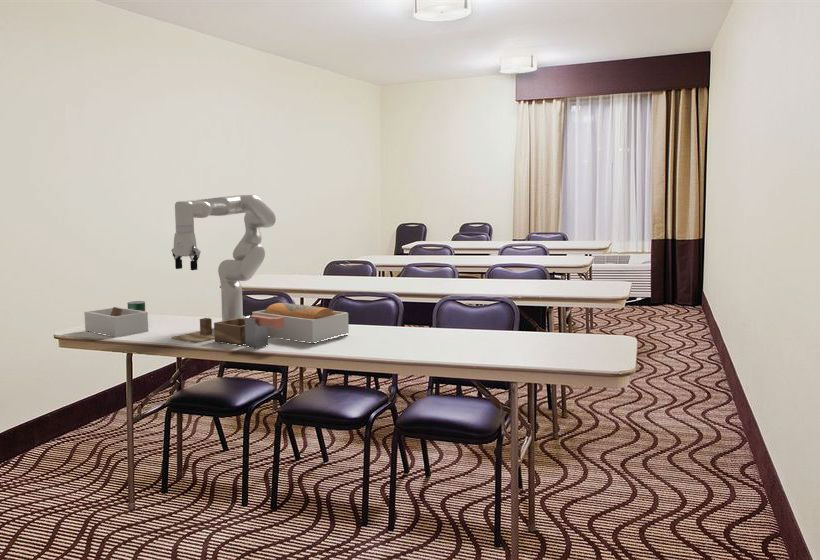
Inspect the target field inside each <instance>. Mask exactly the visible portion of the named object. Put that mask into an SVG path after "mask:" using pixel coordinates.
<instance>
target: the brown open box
mask: <svg viewBox="0 0 820 560" xmlns="http://www.w3.org/2000/svg"><path fill="white" fill-rule="evenodd" d="M213 329H214V330H213V332H214V333H213V334H214V337H215V339H214V342H215V341H216V342H217V343H221V342H223V343H222V344H227V343H229V344H228V345H232V344H237V345H236V346H238V345H243V344H246V343H245V319H243V318H237V319H231V320H226V321H222V320H221V321H217V322H214V323H213ZM216 342H215V343H216ZM243 346H244V345H243Z"/></svg>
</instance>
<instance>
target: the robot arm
mask: <svg viewBox="0 0 820 560" xmlns="http://www.w3.org/2000/svg"><path fill="white" fill-rule="evenodd" d="M237 214H238V215H239V214H244V216H243V221H244V227H245V231H244V232H245V233H244V234H243V237H242V238H240V239H241V240H239V242H238V243H237V244H236V246H235V247H234V249H233V252H232V258H233V259H224V260H223V261H221V262H220V263H219V265H218V270H217V272H218V277H219V281H220V292H221V293H220V297H221V299H220V300H221V301H220V302H221V321H226V320H231V319H237V318H243V319H245V318H246V317H249V316H250V315H247V316H245V315H244V313H243V288H242V284H241V282H247V281H249V280H251V279H252V278H253V277H254V275H255V274H256V272H257V271H258V269H259V268H260V267H261V265H262V263H263V262H264V260H265V258H266V257H265V256H266V251H265V248H264V246H263V245H262V244H261V242H262V236H263V235H262V232H261V229H260V228H265V229H266V228H271V227H273V226H274V225H275V223H276V215H275V212H274V211H273V210H272V209H271V208H270V206H268V205H267V204H266V203H265V202H264V200H263V199H261V198H260V197H259V196H257V195H254V194H238V195H230V196H219V197H218V196H217V197H211V198H204V199H203V198H202V199H201V198H200V199H192V200H184V201H183V200H182V201H181V200H179V201H175V203H174V219H175V233H174V235H173V236H174V237H173V248H171V250H170V251H171V254H172V257H173V259H174V261H175V262H174V264H175V265H174V266H175V269H176V270H180V269H182V270H183V259H182V258H183V257H188V258H189V259H190V271H197V270H198V261H199V258H200V255H201V250H200V249H198V248H197V247H198V246H197V238H196V234H195V223H194V221H195V220H194V219H204V218H208V217H209V216H211V217H212V216H214V217H215V216H217V217H218V216H219V217H222V216H231V215H232V216H233V215H237Z"/></svg>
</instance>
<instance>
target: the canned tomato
mask: <svg viewBox="0 0 820 560" xmlns="http://www.w3.org/2000/svg"><path fill="white" fill-rule="evenodd" d="M126 303H127V309H131V310H138V311H144V312H146V301H144V300H143V301H142V300H134V301H128V302H126Z"/></svg>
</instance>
